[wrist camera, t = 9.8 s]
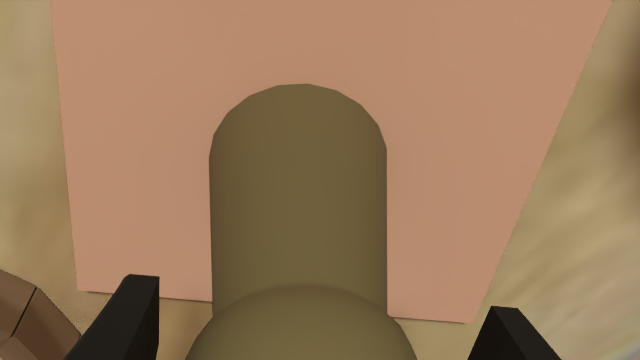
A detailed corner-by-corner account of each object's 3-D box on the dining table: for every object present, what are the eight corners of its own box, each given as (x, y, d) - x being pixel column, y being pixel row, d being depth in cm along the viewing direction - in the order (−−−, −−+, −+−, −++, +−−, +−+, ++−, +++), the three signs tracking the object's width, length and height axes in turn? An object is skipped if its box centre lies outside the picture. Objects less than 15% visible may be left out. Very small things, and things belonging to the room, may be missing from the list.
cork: (420, 123, 20) (530, 427, 10) (340, 253, 23) (373, 576, 13) (245, 54, 18) (197, 339, 9) (185, 203, 21) (103, 531, 12)
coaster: (468, 309, 26) (473, 323, 25) (83, 275, 24) (77, 290, 23) (634, -88, 17) (648, -83, 16) (44, -192, 15) (33, -190, 14)
